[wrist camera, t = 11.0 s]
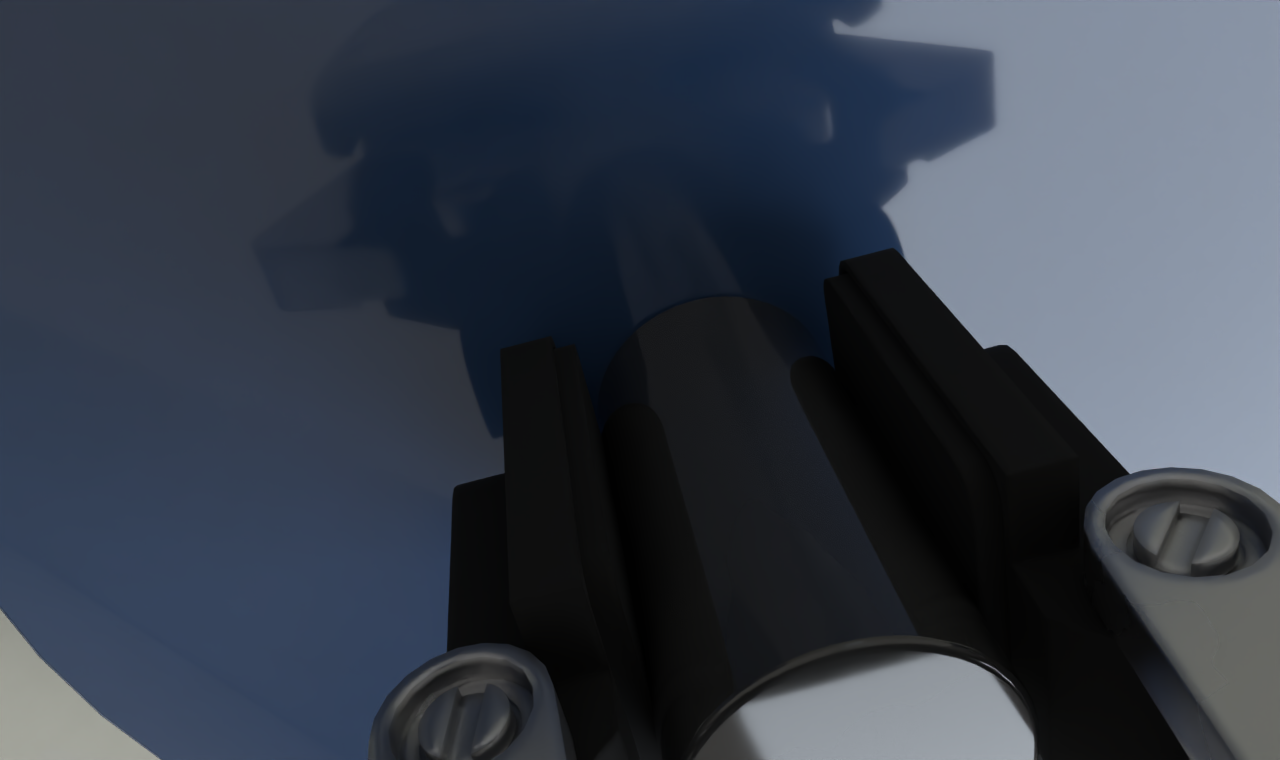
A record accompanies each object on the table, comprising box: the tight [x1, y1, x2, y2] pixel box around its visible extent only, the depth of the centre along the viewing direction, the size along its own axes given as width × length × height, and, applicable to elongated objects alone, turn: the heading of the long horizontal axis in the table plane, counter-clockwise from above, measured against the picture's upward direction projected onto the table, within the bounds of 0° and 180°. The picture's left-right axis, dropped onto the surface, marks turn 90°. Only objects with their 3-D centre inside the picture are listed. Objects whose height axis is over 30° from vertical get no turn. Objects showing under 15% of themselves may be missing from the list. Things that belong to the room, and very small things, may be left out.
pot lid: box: [0, 0, 1280, 760], centre depth 10 cm, size 17×17×6 cm
